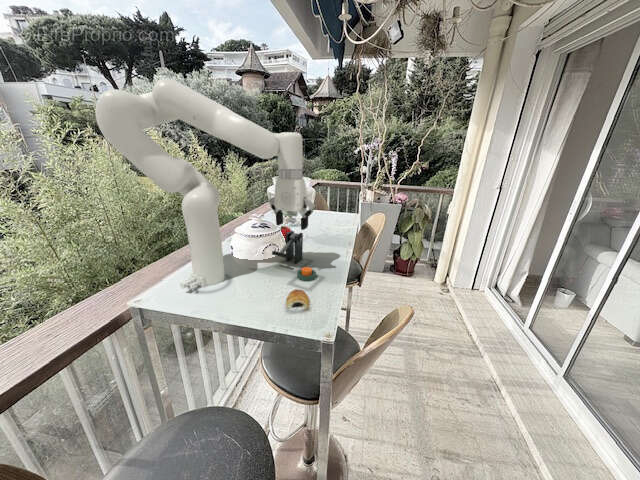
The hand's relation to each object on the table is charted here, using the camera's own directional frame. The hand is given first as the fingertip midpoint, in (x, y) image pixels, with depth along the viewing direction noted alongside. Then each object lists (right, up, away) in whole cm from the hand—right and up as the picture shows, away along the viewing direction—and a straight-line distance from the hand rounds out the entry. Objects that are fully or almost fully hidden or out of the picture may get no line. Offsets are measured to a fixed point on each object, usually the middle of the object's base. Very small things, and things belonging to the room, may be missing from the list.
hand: (291, 226), depth 89 cm
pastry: (+3, -24, -10) cm, 26 cm away
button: (+5, -16, +3) cm, 17 cm away
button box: (+5, -19, +4) cm, 20 cm away
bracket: (-1, -14, +16) cm, 21 cm away
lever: (-2, -7, +10) cm, 12 cm away
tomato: (-8, -6, +39) cm, 40 cm away
